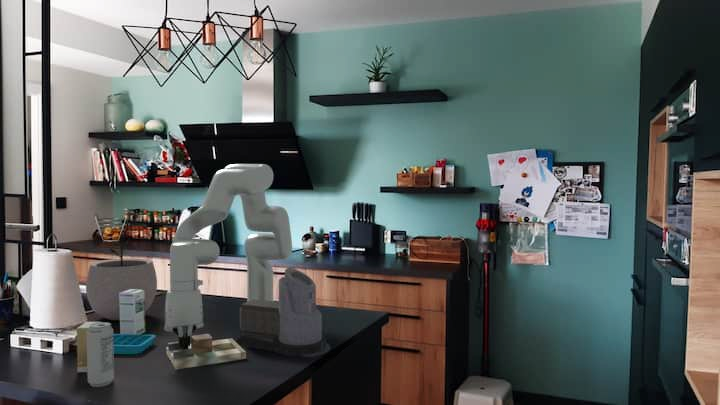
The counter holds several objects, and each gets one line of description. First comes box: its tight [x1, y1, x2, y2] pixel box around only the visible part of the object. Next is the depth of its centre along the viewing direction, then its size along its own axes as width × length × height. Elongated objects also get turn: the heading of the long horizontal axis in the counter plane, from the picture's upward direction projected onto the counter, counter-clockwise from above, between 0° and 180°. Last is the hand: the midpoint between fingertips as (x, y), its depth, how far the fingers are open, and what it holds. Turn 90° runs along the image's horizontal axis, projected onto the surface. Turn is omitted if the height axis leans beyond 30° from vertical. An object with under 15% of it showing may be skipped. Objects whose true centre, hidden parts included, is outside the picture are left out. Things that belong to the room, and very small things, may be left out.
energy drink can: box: [86, 321, 115, 388], centre depth 138 cm, size 6×6×15 cm
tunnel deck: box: [166, 337, 247, 370], centre depth 160 cm, size 20×15×4 cm
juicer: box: [235, 267, 331, 358], centre depth 170 cm, size 30×16×24 cm, turn 68°
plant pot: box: [85, 236, 158, 321], centre depth 201 cm, size 24×24×30 cm
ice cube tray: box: [75, 333, 157, 355], centre depth 167 cm, size 12×20×3 cm, turn 87°
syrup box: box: [119, 289, 146, 335], centre depth 182 cm, size 6×6×14 cm
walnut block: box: [190, 333, 213, 354], centre depth 159 cm, size 5×5×4 cm
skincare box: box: [76, 321, 100, 373], centre depth 149 cm, size 6×4×12 cm
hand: (184, 349), depth 157 cm, fingers closed
